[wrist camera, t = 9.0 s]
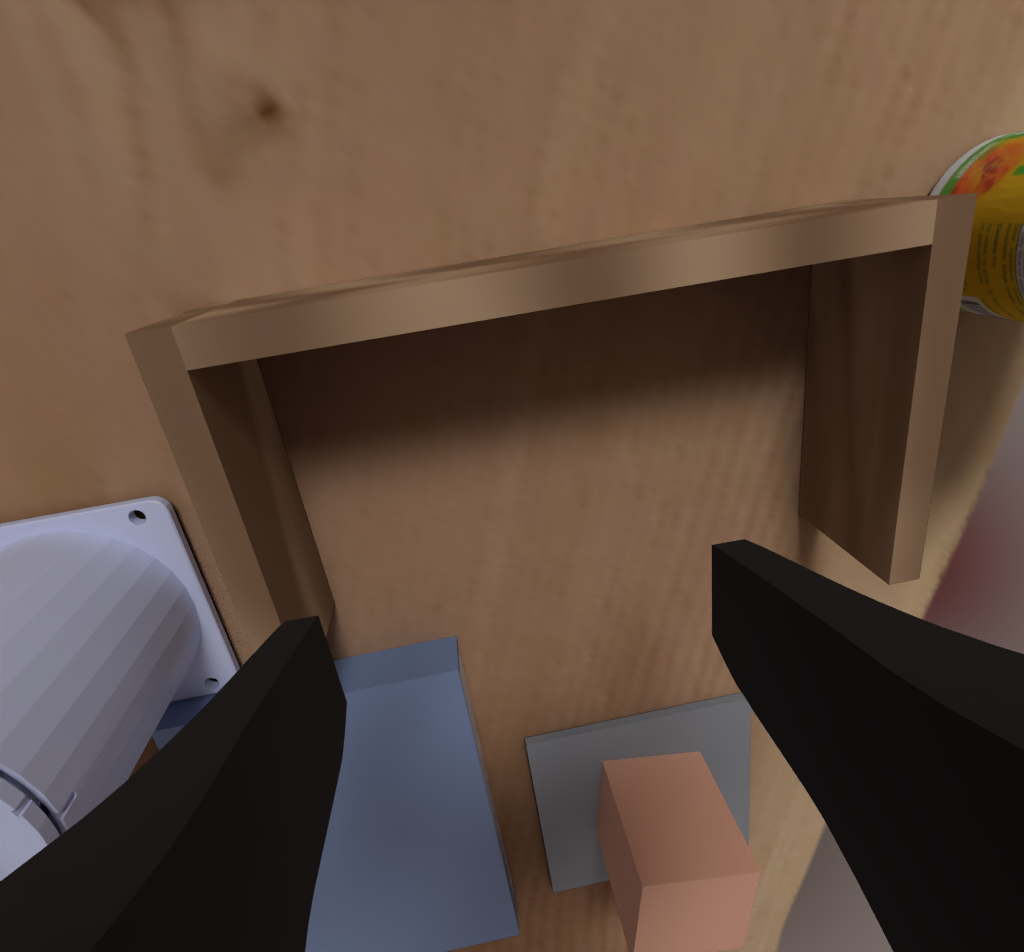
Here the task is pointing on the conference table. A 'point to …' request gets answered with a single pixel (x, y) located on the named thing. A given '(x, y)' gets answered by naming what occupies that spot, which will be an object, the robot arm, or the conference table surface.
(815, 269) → the walnut u-shaped open frame
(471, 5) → the conference table surface
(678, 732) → the felt mat
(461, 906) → the navy book
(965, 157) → the supplement bottle
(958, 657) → the robot arm
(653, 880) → the terracotta block
